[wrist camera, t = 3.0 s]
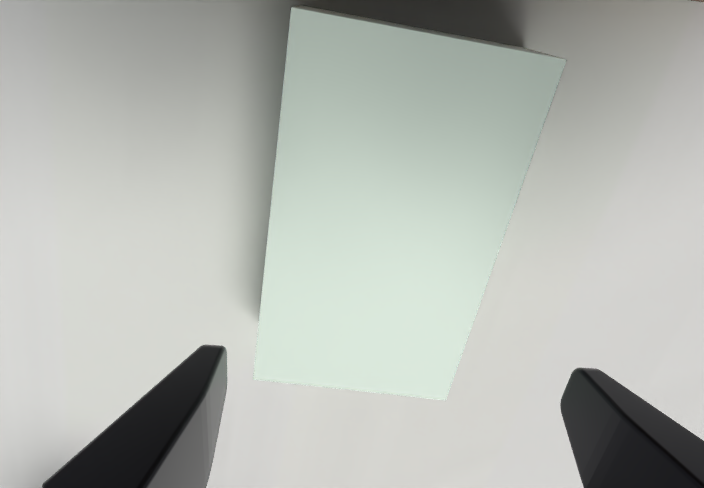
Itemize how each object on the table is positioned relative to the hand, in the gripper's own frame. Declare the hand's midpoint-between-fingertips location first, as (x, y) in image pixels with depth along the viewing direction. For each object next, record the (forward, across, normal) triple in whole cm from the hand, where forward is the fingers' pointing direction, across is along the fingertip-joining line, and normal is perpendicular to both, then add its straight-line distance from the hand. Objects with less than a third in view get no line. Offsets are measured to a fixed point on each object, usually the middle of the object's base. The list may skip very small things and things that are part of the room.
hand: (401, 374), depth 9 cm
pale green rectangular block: (+8, 0, 0) cm, 8 cm away
